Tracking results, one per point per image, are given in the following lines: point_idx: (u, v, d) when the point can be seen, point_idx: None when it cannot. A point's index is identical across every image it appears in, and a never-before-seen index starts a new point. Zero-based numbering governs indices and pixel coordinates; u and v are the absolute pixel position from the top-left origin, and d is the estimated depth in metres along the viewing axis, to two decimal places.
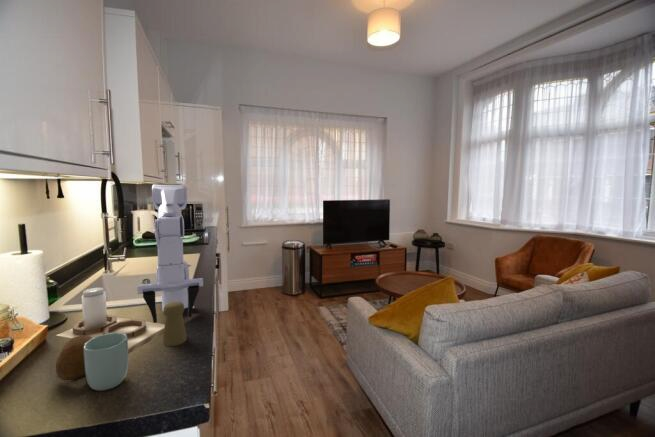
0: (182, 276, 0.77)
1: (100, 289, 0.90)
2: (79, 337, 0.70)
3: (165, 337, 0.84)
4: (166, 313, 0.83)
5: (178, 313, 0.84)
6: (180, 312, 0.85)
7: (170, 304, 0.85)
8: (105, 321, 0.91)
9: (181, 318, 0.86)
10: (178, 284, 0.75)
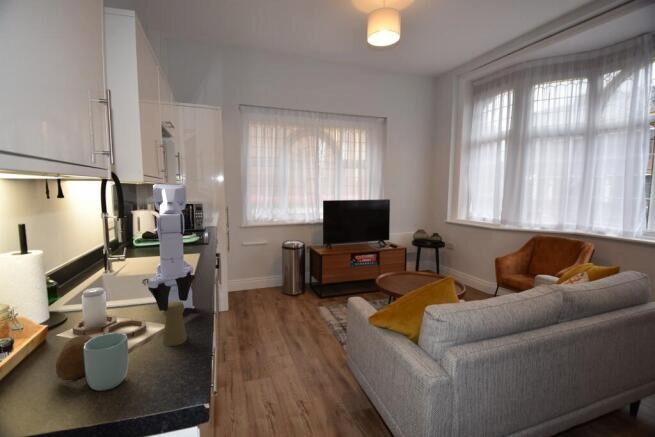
0: None
1: (100, 289, 0.90)
2: (79, 337, 0.70)
3: (165, 337, 0.84)
4: (166, 313, 0.83)
5: (178, 313, 0.84)
6: (180, 312, 0.85)
7: (170, 304, 0.85)
8: (105, 321, 0.91)
9: (181, 318, 0.86)
10: None
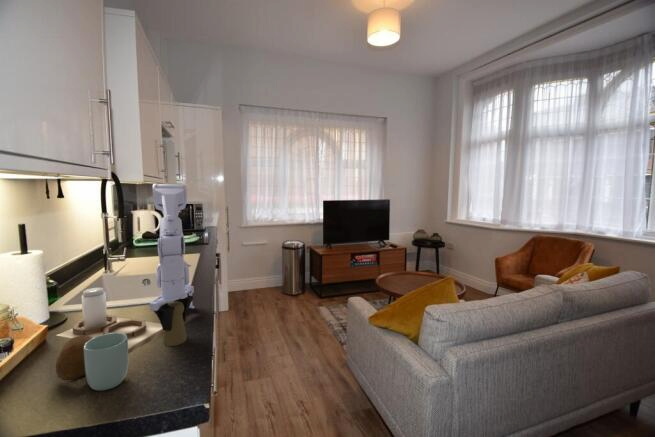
0: None
1: (100, 289, 0.90)
2: (79, 337, 0.70)
3: (165, 337, 0.84)
4: None
5: (178, 313, 0.84)
6: (180, 312, 0.85)
7: (170, 304, 0.85)
8: (105, 321, 0.91)
9: (181, 318, 0.86)
10: None
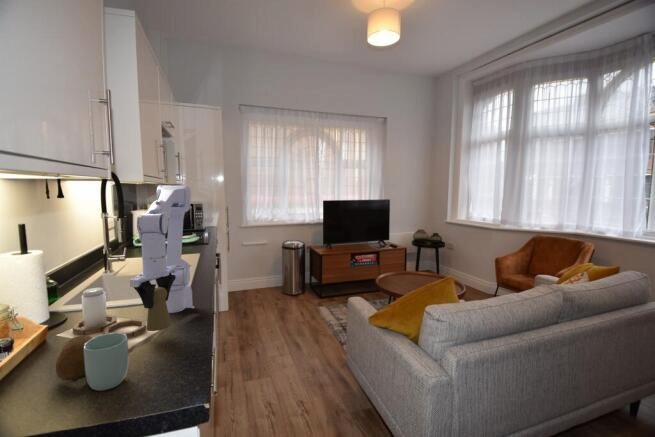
0: None
1: (100, 289, 0.90)
2: (79, 337, 0.70)
3: (149, 322, 0.84)
4: None
5: (162, 297, 0.85)
6: (163, 296, 0.85)
7: None
8: (105, 321, 0.91)
9: (164, 303, 0.86)
10: None
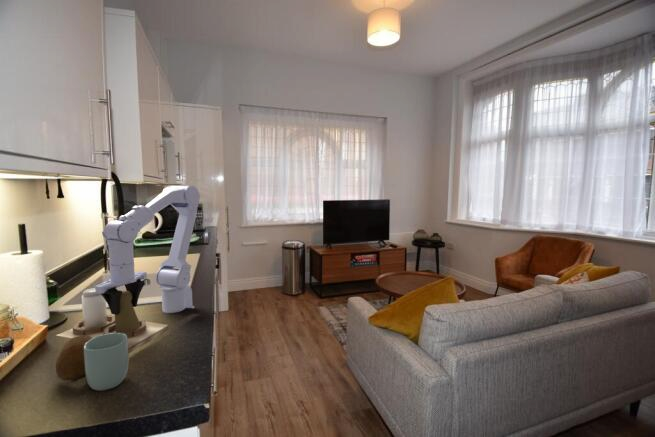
0: None
1: None
2: (79, 337, 0.70)
3: (117, 326, 0.85)
4: None
5: (126, 300, 0.86)
6: (128, 299, 0.87)
7: None
8: (105, 321, 0.91)
9: (130, 305, 0.87)
10: None
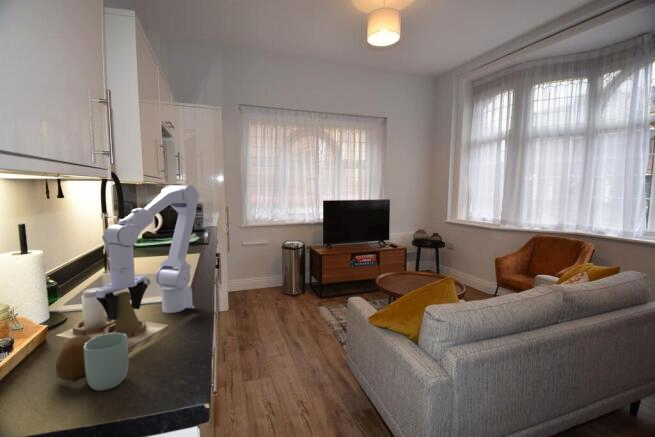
0: None
1: None
2: (79, 337, 0.70)
3: (116, 327, 0.85)
4: None
5: (125, 300, 0.86)
6: (127, 299, 0.87)
7: (115, 294, 0.86)
8: (105, 321, 0.91)
9: (130, 305, 0.88)
10: None
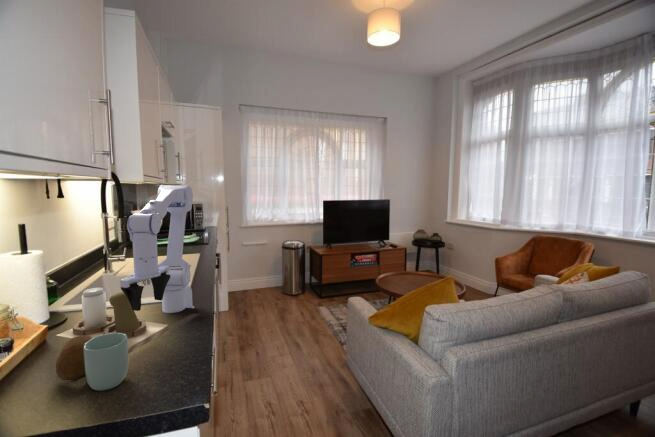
0: None
1: (100, 289, 0.90)
2: (79, 337, 0.70)
3: (116, 327, 0.85)
4: (112, 302, 0.85)
5: (125, 300, 0.86)
6: (127, 299, 0.87)
7: (115, 294, 0.86)
8: (105, 321, 0.91)
9: (130, 305, 0.88)
10: None
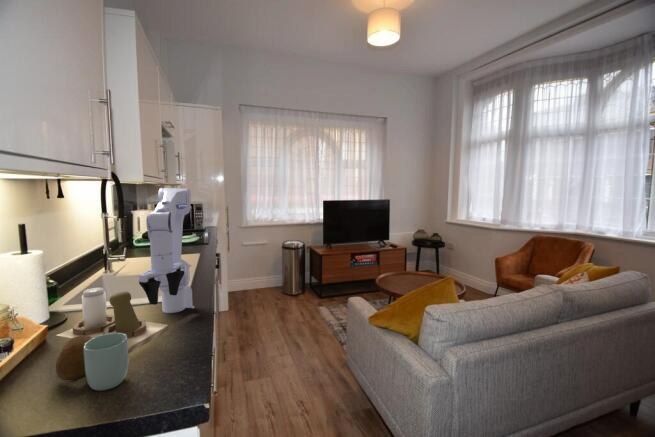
0: None
1: (100, 289, 0.91)
2: (79, 337, 0.70)
3: (116, 327, 0.85)
4: (112, 302, 0.85)
5: (125, 300, 0.86)
6: (127, 299, 0.87)
7: (115, 294, 0.86)
8: (105, 321, 0.91)
9: (130, 305, 0.88)
10: None
